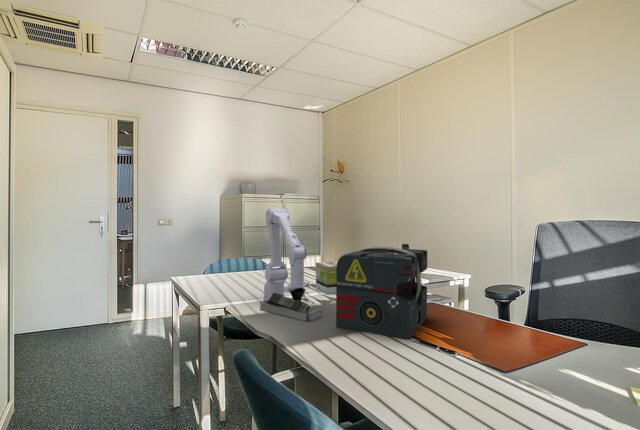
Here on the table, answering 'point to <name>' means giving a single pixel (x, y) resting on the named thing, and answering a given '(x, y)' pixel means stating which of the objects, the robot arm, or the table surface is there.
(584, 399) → the table surface
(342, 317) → the power unit
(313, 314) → the slate box
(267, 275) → the robot arm
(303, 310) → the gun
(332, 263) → the tea box
